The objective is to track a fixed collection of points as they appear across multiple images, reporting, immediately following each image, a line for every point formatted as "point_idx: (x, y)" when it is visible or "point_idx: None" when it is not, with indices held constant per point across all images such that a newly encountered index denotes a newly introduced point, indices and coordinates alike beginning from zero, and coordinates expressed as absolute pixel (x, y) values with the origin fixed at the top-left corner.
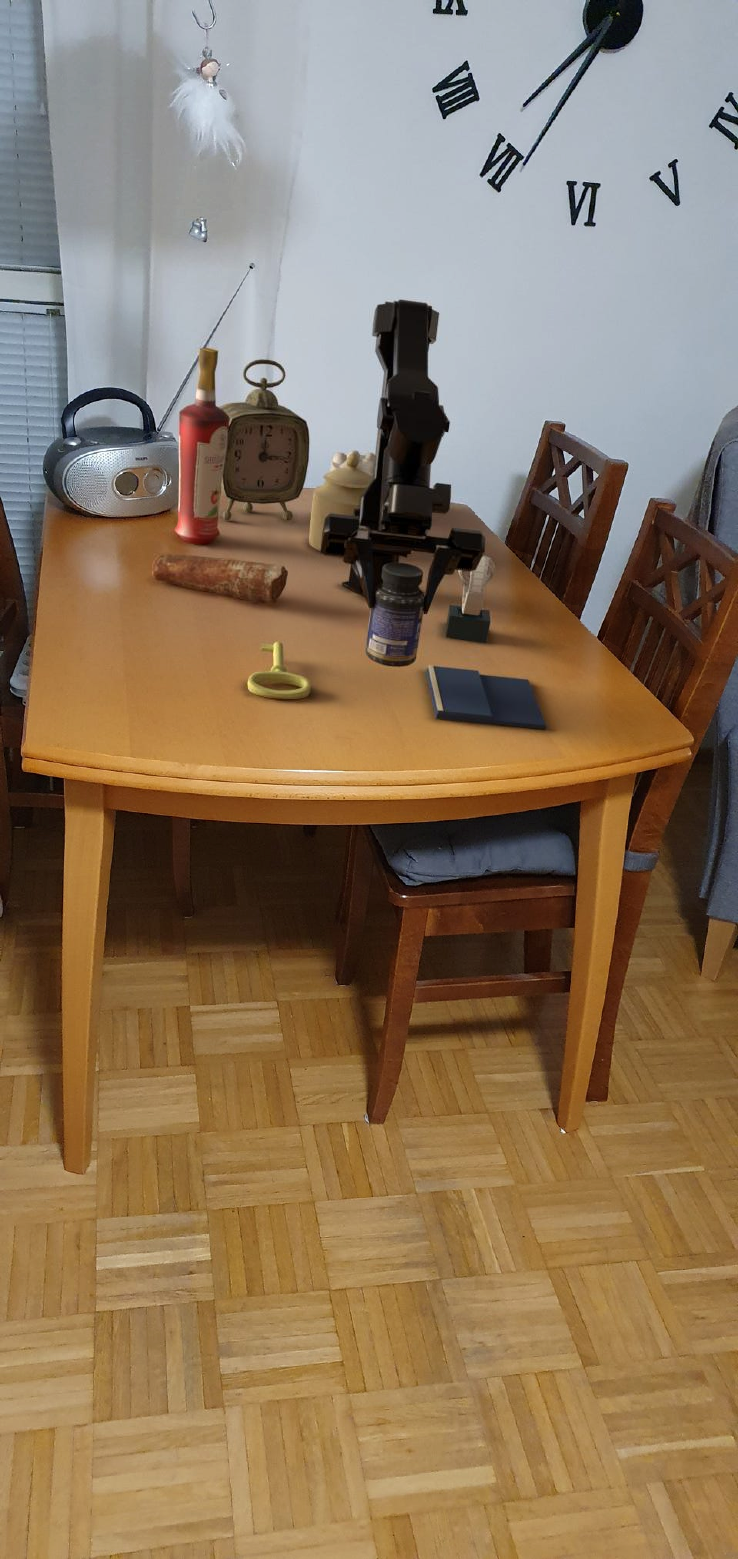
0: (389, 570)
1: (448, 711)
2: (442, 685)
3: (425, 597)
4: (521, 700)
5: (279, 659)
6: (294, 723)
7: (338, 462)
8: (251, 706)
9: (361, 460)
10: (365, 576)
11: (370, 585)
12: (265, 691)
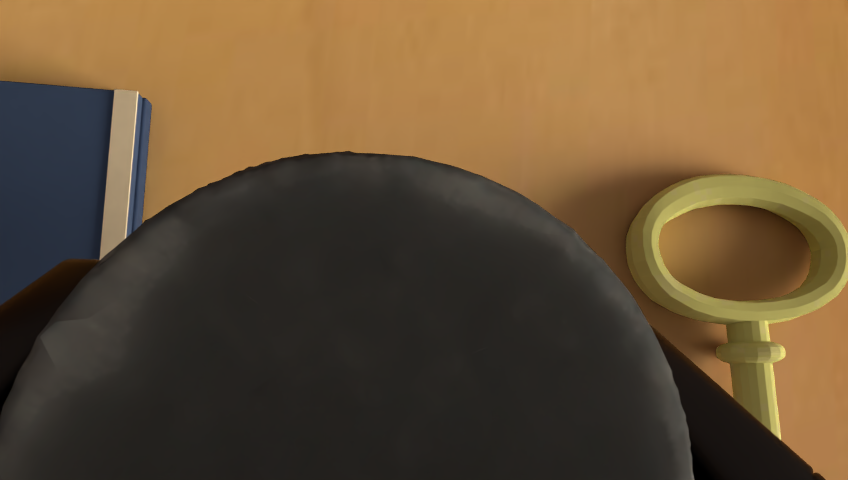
0: (608, 372)
1: (90, 90)
2: None
3: None
4: None
5: (768, 418)
6: (671, 11)
7: None
8: (802, 117)
9: None
10: (797, 463)
11: (684, 392)
12: (783, 183)
